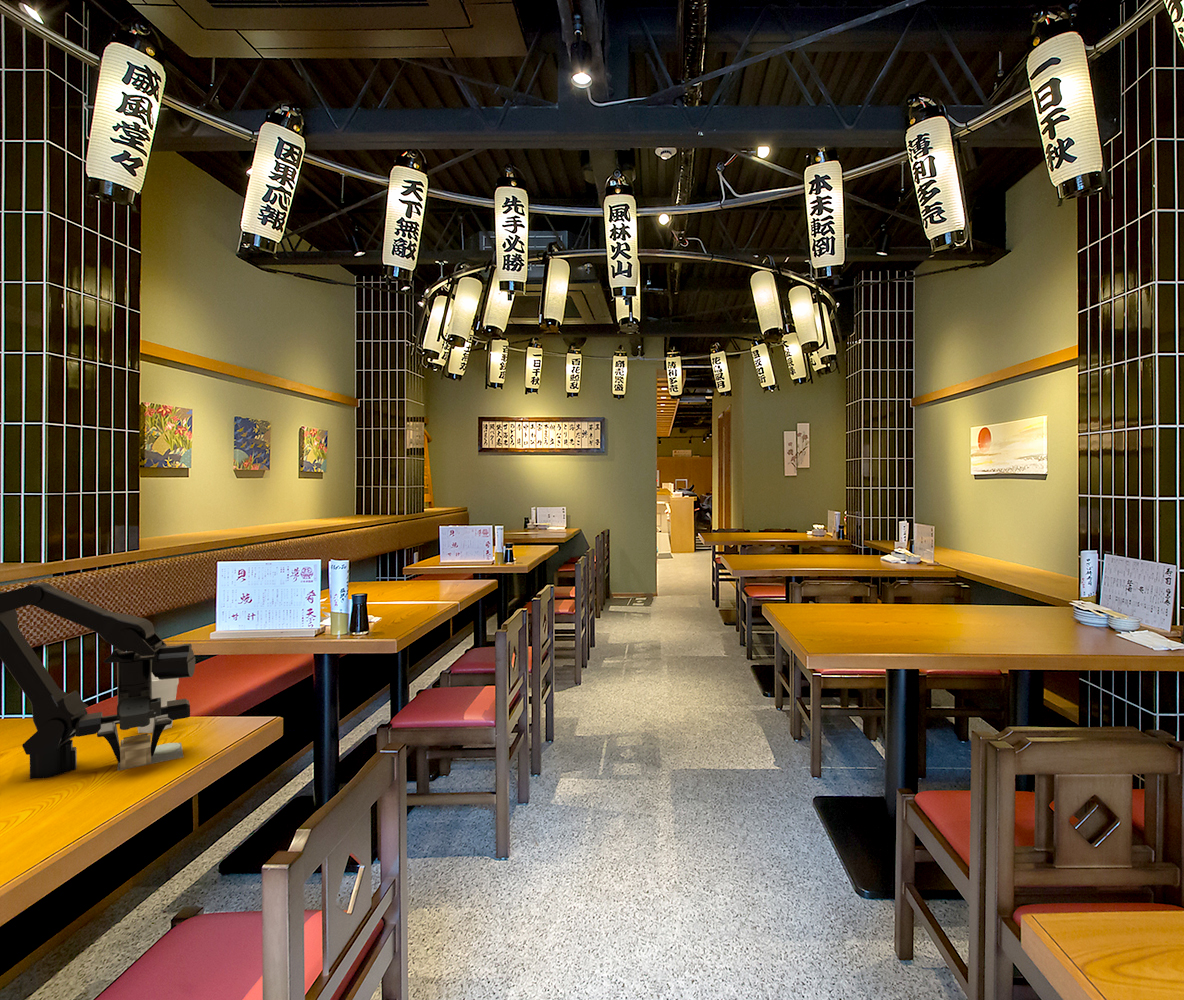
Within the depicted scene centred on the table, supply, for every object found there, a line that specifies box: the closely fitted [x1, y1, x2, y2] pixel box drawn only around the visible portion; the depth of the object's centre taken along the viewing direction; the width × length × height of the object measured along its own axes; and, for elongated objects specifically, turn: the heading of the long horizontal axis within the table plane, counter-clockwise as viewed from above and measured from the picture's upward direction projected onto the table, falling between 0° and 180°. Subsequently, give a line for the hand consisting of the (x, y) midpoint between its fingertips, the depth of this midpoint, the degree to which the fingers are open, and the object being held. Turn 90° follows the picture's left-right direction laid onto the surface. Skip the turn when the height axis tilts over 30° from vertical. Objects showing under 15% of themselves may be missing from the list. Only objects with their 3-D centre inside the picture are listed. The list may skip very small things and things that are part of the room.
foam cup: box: [136, 673, 180, 734], centre depth 151 cm, size 10×9×13 cm
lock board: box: [116, 742, 184, 772], centre depth 134 cm, size 11×10×4 cm
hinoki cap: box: [119, 733, 152, 769], centre depth 131 cm, size 5×5×5 cm
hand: (135, 758), depth 131 cm, fingers closed on hinoki cap, 5 cm apart
